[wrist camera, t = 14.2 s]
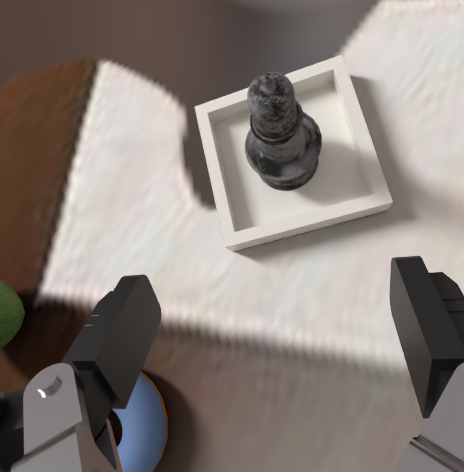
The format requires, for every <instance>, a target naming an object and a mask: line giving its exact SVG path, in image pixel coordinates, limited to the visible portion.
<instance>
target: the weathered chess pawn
mask: <svg viewBox="0 0 464 472" xmlns="http://www.w3.org/2000/svg"><path fill="white" fill-rule="evenodd" d="M247 103H248V106H249V109H250V112H251V116H250V127H251V128H250V130H249V132H248V134H247V137H246V141H245V154H246V158H247V161H248V163H249V164H250V166H251V167H252V169H253V170H254V171H255V172H257V173H258V174H259V176H260V178H261V179H262V181H263V182H264V183H265V184H267V185H268V186H269V187H271V188H273V189H276V190H281V191H290V190H294V189H297V188H300V187H302V186H303V185H305V184H306V183H307V182H308V181H309V180H310V179H311V178H312V177H313V175H314V174H315V172H316V170H317V166H318V157H319V155H320V151H321V147H322V135H321V132H320V129H319V126H318V125H317V123H316V122H315V121H314V119H313V118H312V117H310V116H309V115H308V114H306V113H305V112H303V110H302V107H301V105H300V104H299V103H298V101H297V100H295V93H294V88H293V85H292V83H291V82H290V80H289V79H288V78H287V77H286V76H285V75H284V74H281V73H278V72H267V73H264V74H261V75H260V76H258V77H257V78H255V80H254V81H253V82H252V83H251V85H250V87H249V89H248V93H247Z"/></svg>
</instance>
